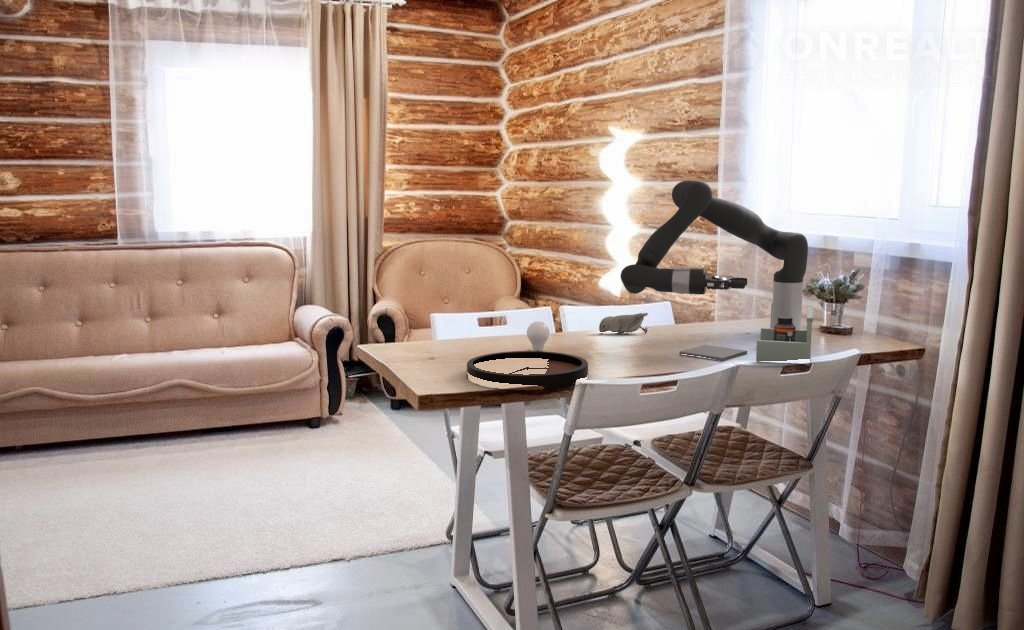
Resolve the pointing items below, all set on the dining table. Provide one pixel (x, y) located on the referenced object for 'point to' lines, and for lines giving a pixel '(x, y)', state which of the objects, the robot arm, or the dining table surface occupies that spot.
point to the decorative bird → (622, 323)
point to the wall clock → (556, 377)
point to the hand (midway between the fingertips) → (746, 283)
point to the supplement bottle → (784, 330)
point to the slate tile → (714, 352)
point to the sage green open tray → (785, 344)
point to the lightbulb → (538, 335)
